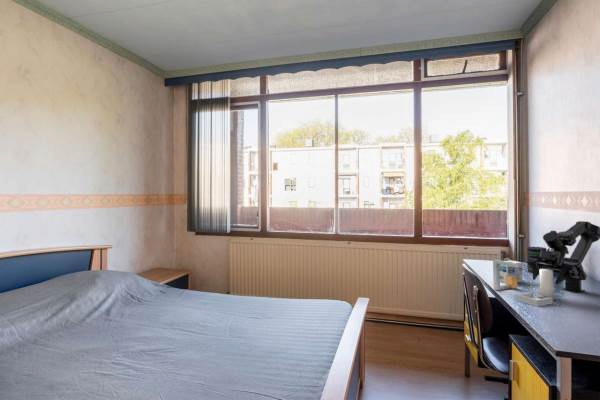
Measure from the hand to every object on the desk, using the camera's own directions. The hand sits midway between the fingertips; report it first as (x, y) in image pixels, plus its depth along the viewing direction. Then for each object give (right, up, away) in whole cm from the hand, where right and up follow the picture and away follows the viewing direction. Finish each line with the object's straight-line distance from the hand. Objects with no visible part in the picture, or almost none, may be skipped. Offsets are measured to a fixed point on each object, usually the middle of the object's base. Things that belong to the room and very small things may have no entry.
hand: (544, 281), depth 147 cm
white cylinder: (+2, -8, +1) cm, 8 cm away
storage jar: (+32, -7, +48) cm, 59 cm away
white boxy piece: (-6, -8, +12) cm, 16 cm away
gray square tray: (-7, -8, -4) cm, 12 cm away
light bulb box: (+4, -8, +31) cm, 32 cm away
